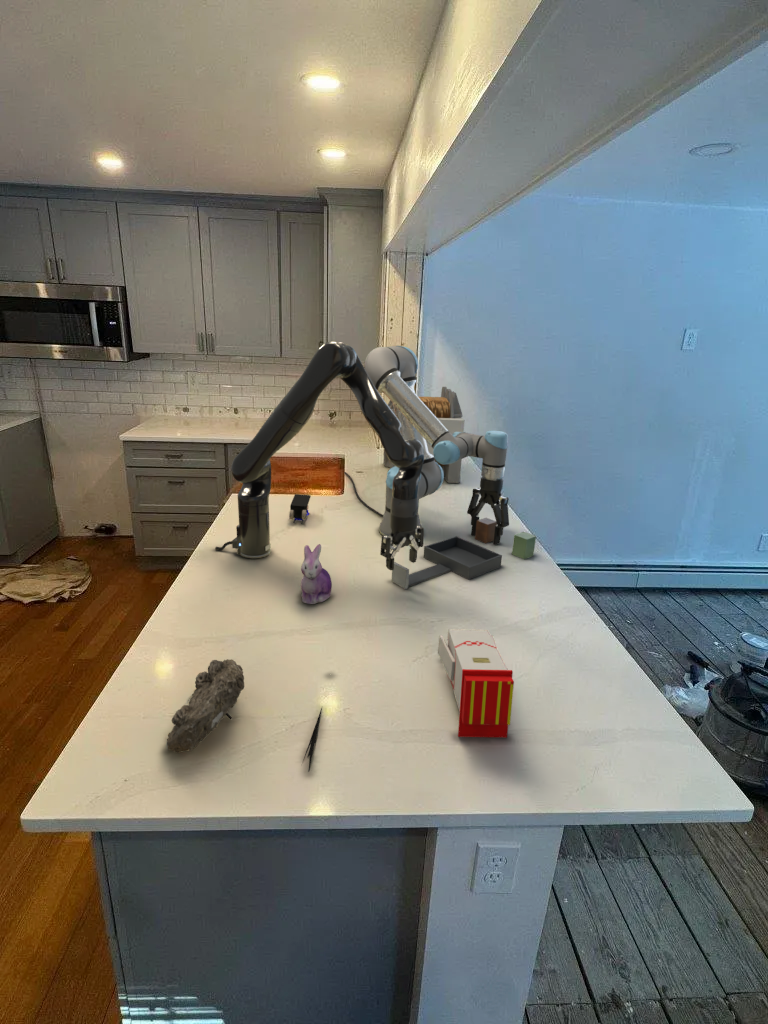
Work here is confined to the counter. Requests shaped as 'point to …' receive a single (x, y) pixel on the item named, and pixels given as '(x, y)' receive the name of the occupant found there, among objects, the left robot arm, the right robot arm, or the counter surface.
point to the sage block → (523, 545)
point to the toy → (478, 682)
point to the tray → (450, 562)
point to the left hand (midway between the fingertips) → (401, 565)
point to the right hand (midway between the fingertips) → (485, 539)
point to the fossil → (206, 705)
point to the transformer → (450, 417)
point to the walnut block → (485, 530)
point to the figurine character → (299, 507)
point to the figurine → (314, 578)
